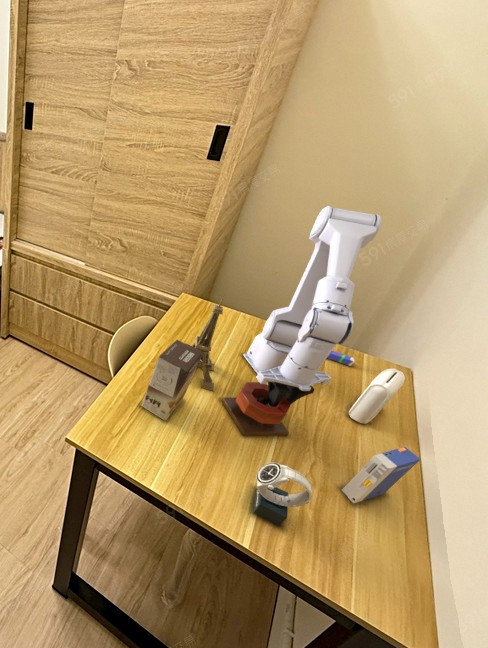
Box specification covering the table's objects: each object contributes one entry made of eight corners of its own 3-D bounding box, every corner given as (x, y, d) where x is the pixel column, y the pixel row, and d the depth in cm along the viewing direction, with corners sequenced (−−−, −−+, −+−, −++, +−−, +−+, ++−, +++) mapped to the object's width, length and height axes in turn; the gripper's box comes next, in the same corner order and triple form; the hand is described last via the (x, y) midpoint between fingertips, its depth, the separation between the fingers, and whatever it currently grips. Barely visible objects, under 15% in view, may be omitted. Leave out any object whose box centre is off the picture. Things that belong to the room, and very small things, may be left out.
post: (221, 400, 98) (230, 383, 95) (261, 401, 98) (271, 384, 95) (242, 435, 90) (253, 418, 86) (286, 435, 90) (299, 418, 87)
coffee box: (165, 422, 92) (186, 372, 83) (140, 406, 96) (157, 356, 87) (182, 400, 98) (204, 351, 89) (158, 386, 102) (176, 338, 92)
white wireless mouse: (361, 396, 100) (390, 360, 93) (382, 408, 97) (414, 372, 90) (343, 414, 95) (373, 378, 88) (365, 427, 92) (397, 390, 85)
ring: (229, 391, 96) (235, 381, 94) (267, 392, 96) (274, 382, 94) (250, 423, 88) (256, 413, 86) (291, 424, 88) (298, 414, 86)
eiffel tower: (171, 352, 112) (200, 276, 98) (213, 364, 108) (249, 287, 94) (168, 377, 104) (199, 299, 90) (213, 391, 101) (252, 311, 86)
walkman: (369, 481, 81) (405, 445, 75) (383, 494, 79) (422, 458, 72) (339, 490, 80) (373, 453, 73) (353, 503, 77) (389, 467, 71)
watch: (244, 484, 80) (267, 451, 74) (291, 506, 77) (319, 473, 71) (241, 507, 76) (265, 474, 70) (291, 532, 73) (320, 499, 67)
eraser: (350, 367, 109) (354, 361, 108) (324, 357, 112) (327, 352, 110) (350, 363, 110) (354, 357, 109) (324, 353, 113) (327, 348, 112)
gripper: (282, 373, 80) (255, 417, 88) (353, 374, 80) (320, 418, 88) (261, 349, 86) (238, 392, 94) (328, 350, 86) (299, 393, 94)
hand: (276, 403), depth 91 cm, fingers closed on ring, 2 cm apart
